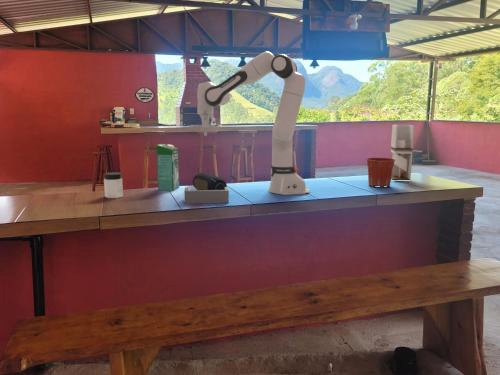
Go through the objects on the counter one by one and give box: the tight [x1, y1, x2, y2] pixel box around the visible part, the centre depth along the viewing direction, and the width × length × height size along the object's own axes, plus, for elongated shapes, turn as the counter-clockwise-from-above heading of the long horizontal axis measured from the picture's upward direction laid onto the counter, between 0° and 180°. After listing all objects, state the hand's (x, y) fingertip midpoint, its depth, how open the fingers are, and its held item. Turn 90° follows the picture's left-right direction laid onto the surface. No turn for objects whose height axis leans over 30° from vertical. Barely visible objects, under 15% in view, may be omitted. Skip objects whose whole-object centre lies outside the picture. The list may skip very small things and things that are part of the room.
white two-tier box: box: [390, 124, 415, 181], centre depth 270 cm, size 11×11×35 cm
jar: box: [103, 171, 124, 199], centre depth 217 cm, size 9×8×12 cm
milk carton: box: [156, 143, 180, 192], centre depth 237 cm, size 9×9×25 cm
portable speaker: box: [192, 172, 228, 190], centre depth 228 cm, size 25×10×10 cm, turn 34°
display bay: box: [183, 186, 230, 204], centre depth 209 cm, size 21×10×6 cm, turn 96°
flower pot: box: [365, 157, 395, 187], centre depth 252 cm, size 16×16×16 cm
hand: (205, 135), depth 244 cm, fingers closed
